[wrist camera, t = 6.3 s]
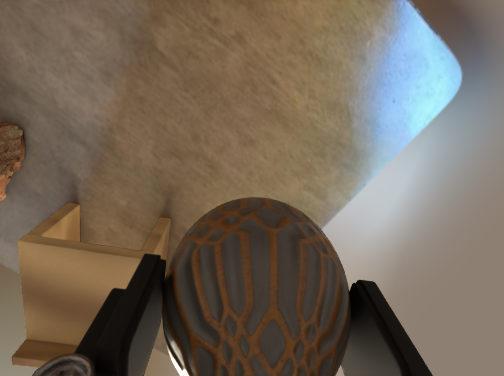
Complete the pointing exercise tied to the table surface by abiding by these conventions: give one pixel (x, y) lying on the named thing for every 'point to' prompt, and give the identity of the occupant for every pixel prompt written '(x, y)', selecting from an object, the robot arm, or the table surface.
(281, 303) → the vase
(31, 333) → the shelf
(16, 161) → the brown rock
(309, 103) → the table surface
